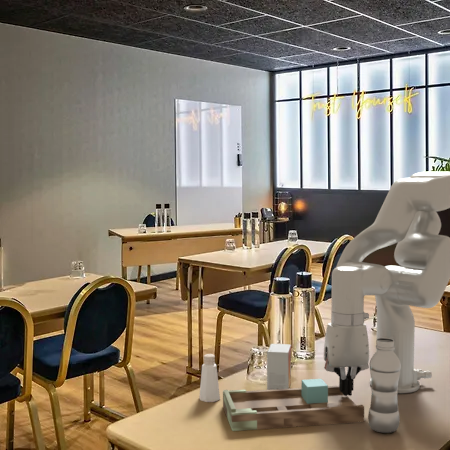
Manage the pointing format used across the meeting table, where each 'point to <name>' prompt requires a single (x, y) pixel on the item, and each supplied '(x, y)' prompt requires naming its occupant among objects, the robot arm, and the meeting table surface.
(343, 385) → the robot arm
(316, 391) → the block
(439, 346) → the meeting table surface
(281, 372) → the small box
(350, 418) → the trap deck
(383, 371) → the plastic bottle
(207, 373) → the salt shaker
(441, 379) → the meeting table surface
